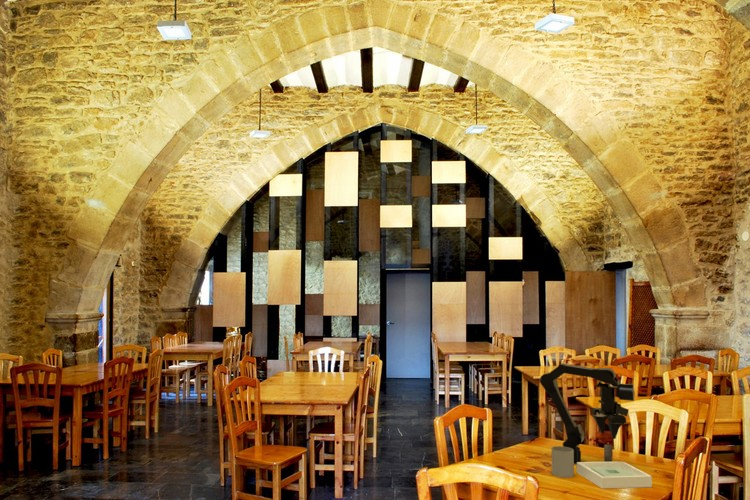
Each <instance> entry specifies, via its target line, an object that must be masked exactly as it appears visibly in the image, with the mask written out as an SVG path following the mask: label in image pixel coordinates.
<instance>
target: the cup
mask: <svg viewBox="0 0 750 500" xmlns="http://www.w3.org/2000/svg"><path fill="white" fill-rule="evenodd" d="M574 465H575V463H574V450H573V449H572V448H569V447H563V445H562V446H561V445H560V446H557V445H556V446H552V447H551V474H552V475H553V476H555V477H557V478H558V477H559V478H563V479H565V478H566V479H567V478H568V479H569V478H573V477H574V474H575V470H574V469H575V468H574Z"/></svg>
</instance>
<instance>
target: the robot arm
mask: <svg viewBox="0 0 750 500" xmlns="http://www.w3.org/2000/svg"><path fill="white" fill-rule="evenodd" d="M564 374H567V375H574V376H580V377H586V378H591V379H594V380H596V381H599V382H598V383H597V384H596V385H595V388H600V399H598V403H600V407H592V408H591V409H590V415H592V417H593V419H594V421H595V423H596V425H597V426H598V430H599V432H600V433H601V434H602V435H603V434H605V428H606V421H608V422H607V425H608V428H609V430H610V435H611V437H612V439H613V440H615V439H616V438H617V436H618V433H619V430H620V427H621V426H623V425H625V424H627V417H628V414H629V410H630V409H628V408H625V407H623V406H622V404H621V403H618V401H616V398H618V400H619V401H620V400H621V401H632V402H634V401H635V392H636V391H635V388H634V384H633V383H621V381H619V379H618V378H617V376H616V372H615V370H614V369H613V368H612V367H611V368H610V367H599V368H597V367H596V368H595V367H594V368H592V367H585V366H580V365H579V366H578V365H575V364H574V365H573V364H572V365H571V364H567V363H560V364H558V366H557V367H555V368H554V369H552V370H551V371H550V372H546V373H543V374H542V375H541V376H540V378H539V383H540V385H541V386H542V388H543V389H544V390H545V392H547V394H549V396H550V398H551V400H552V402H553V404H554V406H555V408H556V410H557V412H558V413H557V414H558V415H559V416H560V418H561V420H562V423H563V425H564V429H565V433H566V437H567V438H566V439H565V440H564V441H563V442H562V447H569V448H572V449H573V450H574V464H577V462H582V451H581V447H579V446H580V445H581V444H582V443H583V441H584V440H585V433H586V432H585V431H584V429H583V428H582V425H581V423H579V424H577V423H576V422H575V421H574V418H573V417H572V415H571V413H570V410H569V409H568V406H567V405H566V402H565V400H564V398H563V397H562V394H561V392H560V389H559V383H558V380H557V379H558V378H560V377H561V376H562V375H564Z"/></svg>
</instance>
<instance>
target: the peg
mask: <svg viewBox="0 0 750 500" xmlns="http://www.w3.org/2000/svg"><path fill="white" fill-rule="evenodd" d="M603 451H604V452H603V453H604V454H603V459H604V461H603V462H613V445H612V444H607V443H606V444H604V445H603Z"/></svg>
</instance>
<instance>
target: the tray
mask: <svg viewBox="0 0 750 500" xmlns="http://www.w3.org/2000/svg"><path fill="white" fill-rule="evenodd" d="M576 474H578V475H580V476H582V477H583V478H585V479H587V481H589V482H591V483H592V484H594V485H596V486H597V487H599V488H600V489H631V488H633V489H634V488H635V489H636V488H640V489H641V488H653V487H652V486H653V481H652V480H653V479H652V478H653V477H652V475H650V474H649V473H646V472H645V471H642V470H640V469H639V468H637V467H635V466H633V465H631V464H629V463H627V462H625V461H612V462H604V461H581V462H577V463H576Z"/></svg>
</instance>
